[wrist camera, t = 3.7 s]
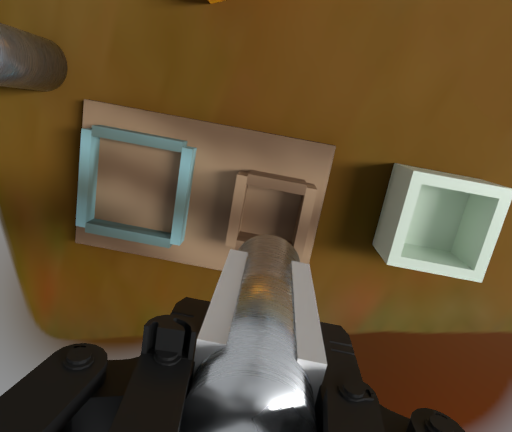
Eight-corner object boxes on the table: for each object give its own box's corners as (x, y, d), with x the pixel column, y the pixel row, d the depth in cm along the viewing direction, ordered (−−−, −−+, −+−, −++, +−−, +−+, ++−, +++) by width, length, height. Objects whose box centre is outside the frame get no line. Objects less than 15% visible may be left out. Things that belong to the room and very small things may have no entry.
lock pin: (239, 228, 18) (187, 363, 8) (306, 241, 18) (331, 391, 8) (229, 289, 19) (170, 474, 9) (293, 301, 19) (301, 501, 9)
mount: (89, 99, 31) (66, 97, 27) (334, 145, 31) (340, 148, 27) (80, 239, 34) (59, 252, 31) (302, 281, 34) (305, 299, 30)
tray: (394, 163, 31) (413, 170, 26) (480, 179, 31) (515, 189, 26) (372, 244, 32) (386, 264, 28) (453, 260, 32) (481, 282, 28)
